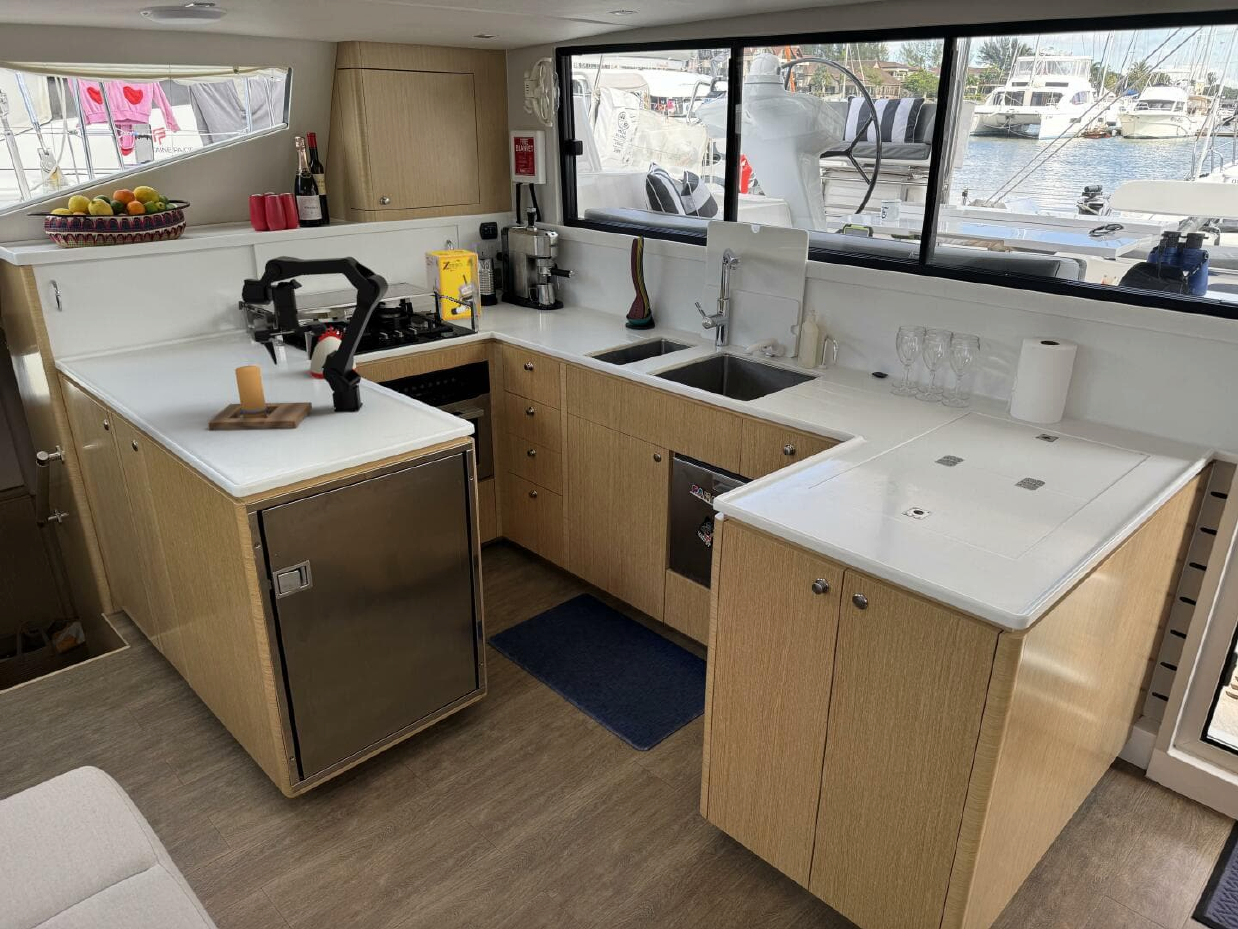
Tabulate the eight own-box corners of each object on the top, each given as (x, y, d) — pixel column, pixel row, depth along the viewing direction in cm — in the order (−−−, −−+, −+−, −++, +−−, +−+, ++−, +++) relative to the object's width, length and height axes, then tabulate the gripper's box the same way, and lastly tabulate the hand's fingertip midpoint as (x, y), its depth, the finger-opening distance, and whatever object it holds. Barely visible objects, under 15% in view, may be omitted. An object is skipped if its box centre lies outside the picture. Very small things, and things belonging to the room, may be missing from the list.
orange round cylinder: (271, 415, 237) (263, 365, 232) (263, 423, 231) (255, 371, 226) (247, 415, 237) (239, 365, 232) (239, 423, 231) (230, 372, 226)
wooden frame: (312, 409, 242) (311, 402, 241) (295, 428, 227) (294, 420, 227) (231, 410, 241) (230, 403, 240) (209, 429, 226) (208, 422, 225)
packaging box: (481, 316, 356) (477, 253, 347) (443, 320, 348) (438, 257, 339) (467, 309, 369) (463, 249, 360) (429, 313, 361) (424, 251, 352)
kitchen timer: (307, 370, 280) (301, 324, 274) (351, 365, 286) (346, 320, 280) (315, 381, 268) (308, 333, 263) (360, 375, 274) (355, 328, 269)
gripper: (312, 296, 244) (319, 351, 250) (241, 304, 235) (250, 360, 241) (323, 303, 236) (330, 359, 241) (251, 311, 226) (260, 369, 232)
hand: (293, 361), depth 239 cm, fingers open, 9 cm apart
